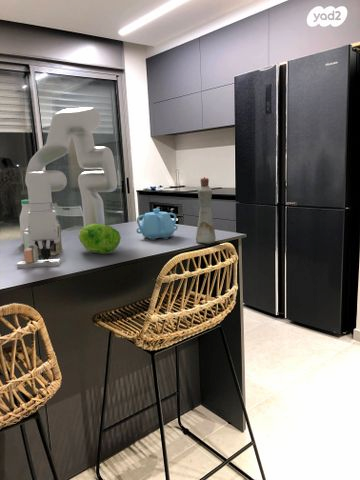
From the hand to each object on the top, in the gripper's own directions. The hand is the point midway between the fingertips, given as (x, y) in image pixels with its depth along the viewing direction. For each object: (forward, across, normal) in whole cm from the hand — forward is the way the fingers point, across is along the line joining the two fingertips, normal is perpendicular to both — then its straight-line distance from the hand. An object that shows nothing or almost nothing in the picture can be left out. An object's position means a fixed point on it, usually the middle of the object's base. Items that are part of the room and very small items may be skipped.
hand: (46, 258), depth 139 cm
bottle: (+3, -63, -22) cm, 66 cm away
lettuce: (+3, -18, -14) cm, 23 cm away
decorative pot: (+3, -44, -39) cm, 59 cm away
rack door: (+2, +8, -10) cm, 13 cm away
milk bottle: (+3, +15, -43) cm, 45 cm away
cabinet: (+2, +4, -21) cm, 21 cm away
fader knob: (0, +6, 0) cm, 6 cm away
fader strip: (+2, +3, 0) cm, 3 cm away
